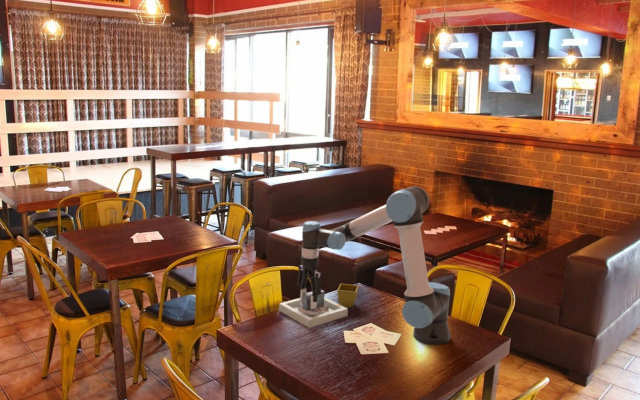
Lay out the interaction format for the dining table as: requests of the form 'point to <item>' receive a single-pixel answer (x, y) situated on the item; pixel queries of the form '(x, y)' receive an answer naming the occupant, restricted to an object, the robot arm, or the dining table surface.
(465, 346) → the dining table surface
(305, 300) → the dial
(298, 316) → the white shallow square tray
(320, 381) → the dining table surface
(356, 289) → the flower pot
